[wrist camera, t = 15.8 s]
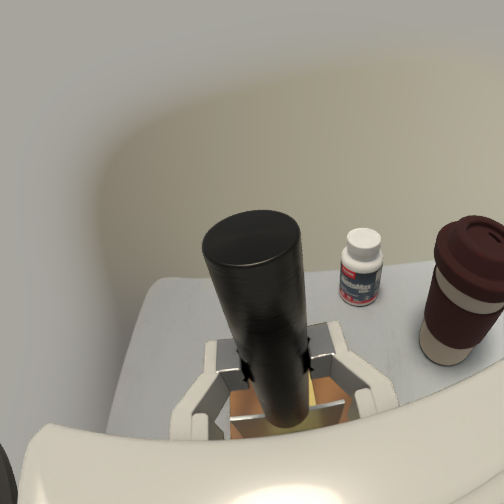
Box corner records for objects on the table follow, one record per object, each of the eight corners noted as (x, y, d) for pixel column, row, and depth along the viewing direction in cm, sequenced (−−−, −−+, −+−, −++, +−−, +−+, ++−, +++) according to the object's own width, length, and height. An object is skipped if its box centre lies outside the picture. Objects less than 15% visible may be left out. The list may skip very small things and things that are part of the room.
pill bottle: (333, 300, 35) (333, 244, 30) (347, 274, 38) (349, 221, 33) (371, 311, 32) (380, 255, 27) (382, 284, 36) (390, 229, 30)
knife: (244, 452, 17) (115, 287, 7) (243, 422, 19) (140, 231, 9) (341, 437, 16) (397, 239, 6) (335, 407, 18) (359, 192, 8)
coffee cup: (405, 375, 25) (451, 269, 16) (408, 307, 32) (431, 201, 23) (481, 377, 21) (548, 278, 12) (473, 311, 28) (511, 212, 19)
